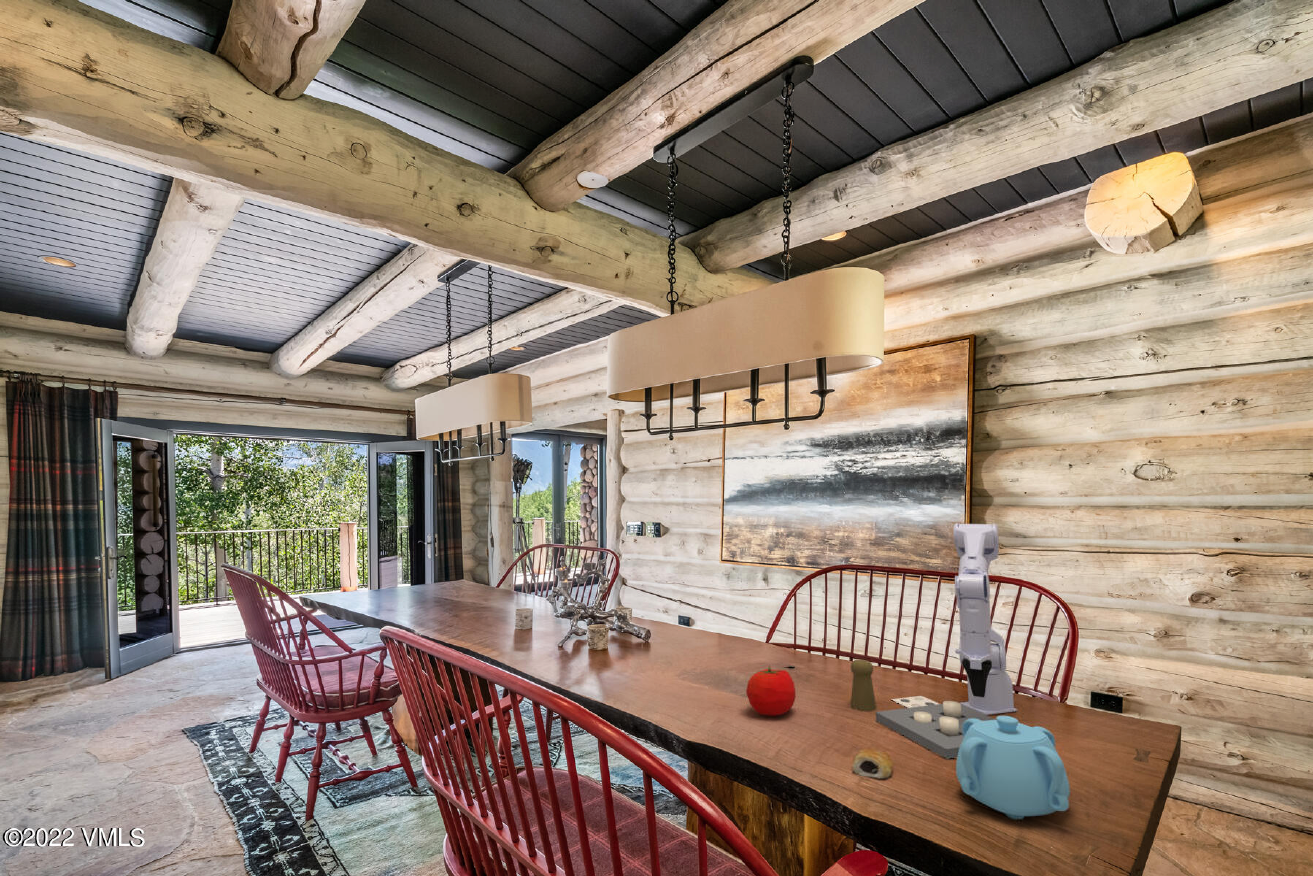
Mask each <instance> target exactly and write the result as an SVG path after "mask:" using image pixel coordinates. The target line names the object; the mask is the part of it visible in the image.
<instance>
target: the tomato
mask: <svg viewBox="0 0 1313 876" xmlns="http://www.w3.org/2000/svg"><path fill="white" fill-rule="evenodd" d="M745 693H746V695H747V699H748V702H749V705H750V706H751V708H752V709H753V710H754V712H756V713H758V714H759V715H762V716H770V717H776V716H780V715H783V714H787V712H789V711H790V710H792V707H793V706H794V704H795V700H796V687H795V681H794V680H793V678H792V676H791V675H790V673H789V672H788V671H786V670H785V669H771V666H770V665H769V666H768V668H765V669H763V670H760V671H758V672H755V673H753V675H751V677H750V678H749V680H748V682H747V686H746V691H745Z"/></svg>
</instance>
